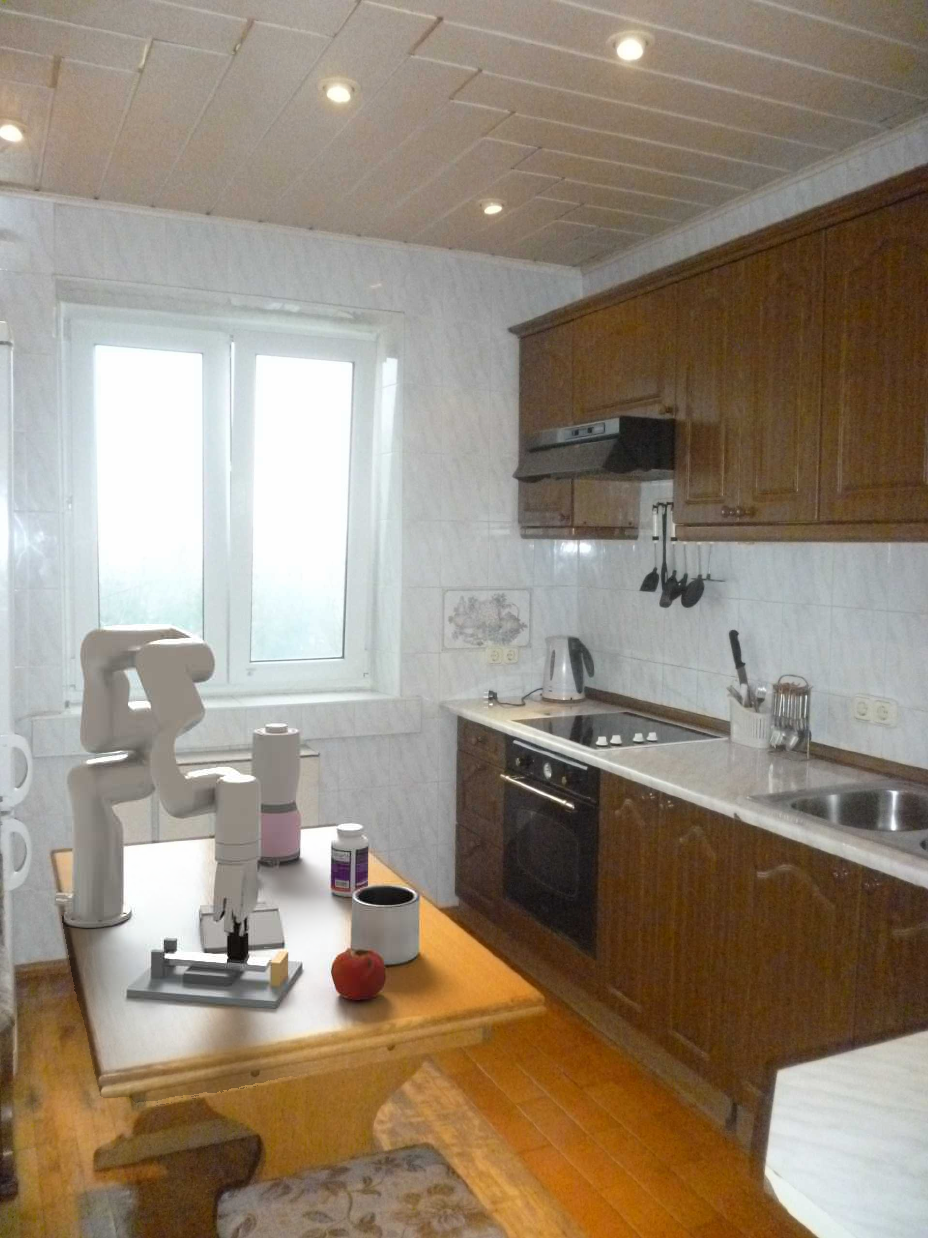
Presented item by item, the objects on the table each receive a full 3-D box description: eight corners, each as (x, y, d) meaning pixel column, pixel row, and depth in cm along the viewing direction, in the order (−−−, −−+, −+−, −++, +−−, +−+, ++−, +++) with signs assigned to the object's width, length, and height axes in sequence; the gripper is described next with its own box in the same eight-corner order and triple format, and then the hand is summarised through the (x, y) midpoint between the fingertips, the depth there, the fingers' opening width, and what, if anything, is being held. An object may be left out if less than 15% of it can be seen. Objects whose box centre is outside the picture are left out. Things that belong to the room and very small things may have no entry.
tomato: (334, 983, 177) (335, 937, 176) (388, 985, 176) (389, 939, 176) (326, 1007, 167) (326, 959, 167) (382, 1009, 167) (383, 961, 167)
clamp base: (126, 996, 169) (126, 962, 169) (165, 958, 185) (166, 927, 185) (275, 1008, 166) (276, 973, 166) (302, 968, 182) (302, 936, 182)
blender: (280, 870, 237) (282, 732, 234) (236, 862, 242) (238, 726, 239) (317, 852, 251) (320, 722, 249) (275, 845, 256) (277, 717, 254)
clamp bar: (155, 965, 175) (155, 954, 175) (164, 957, 178) (164, 946, 178) (264, 974, 173) (264, 962, 173) (271, 965, 176) (271, 954, 176)
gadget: (285, 949, 192) (286, 930, 192) (202, 956, 188) (202, 936, 188) (273, 908, 214) (274, 890, 214) (198, 913, 210) (199, 895, 210)
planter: (402, 973, 182) (403, 911, 181) (338, 961, 186) (339, 900, 185) (429, 948, 193) (430, 889, 193) (368, 937, 198) (369, 880, 197)
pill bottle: (363, 885, 228) (364, 820, 227) (371, 897, 220) (373, 830, 219) (326, 888, 226) (328, 823, 225) (334, 900, 218) (335, 832, 217)
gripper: (231, 837, 181) (231, 939, 182) (200, 861, 167) (200, 973, 168) (272, 839, 181) (272, 942, 182) (245, 863, 166) (245, 976, 167)
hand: (237, 956), depth 175 cm, fingers closed
